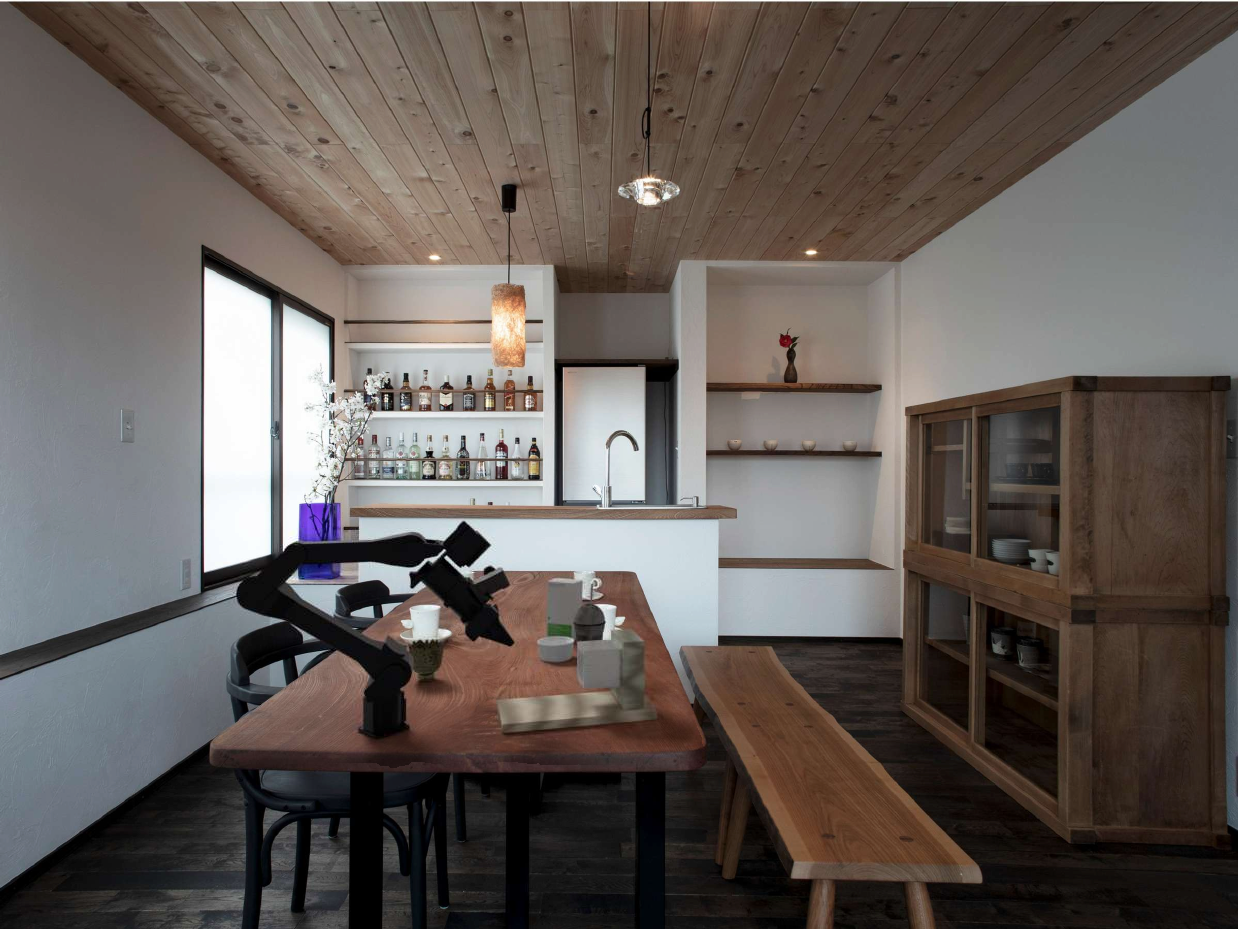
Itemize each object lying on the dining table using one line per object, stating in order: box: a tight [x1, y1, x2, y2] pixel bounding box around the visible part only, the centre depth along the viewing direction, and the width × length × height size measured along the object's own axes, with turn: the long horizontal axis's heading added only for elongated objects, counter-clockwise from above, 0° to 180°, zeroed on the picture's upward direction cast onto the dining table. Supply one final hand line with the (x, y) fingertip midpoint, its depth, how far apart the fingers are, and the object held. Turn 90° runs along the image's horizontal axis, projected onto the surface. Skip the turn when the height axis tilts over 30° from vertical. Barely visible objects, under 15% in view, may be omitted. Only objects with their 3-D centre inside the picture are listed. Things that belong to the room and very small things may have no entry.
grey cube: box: [576, 639, 621, 690], centre depth 130 cm, size 7×7×7 cm
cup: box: [408, 638, 445, 682], centre depth 149 cm, size 8×7×8 cm
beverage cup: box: [573, 583, 606, 645], centre depth 154 cm, size 7×7×20 cm
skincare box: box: [545, 577, 584, 641], centre depth 187 cm, size 8×7×16 cm
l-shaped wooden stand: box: [496, 628, 658, 734], centre depth 129 cm, size 28×13×14 cm, turn 104°
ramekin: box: [536, 636, 575, 663], centre depth 167 cm, size 9×9×4 cm
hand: (512, 644), depth 126 cm, fingers closed
